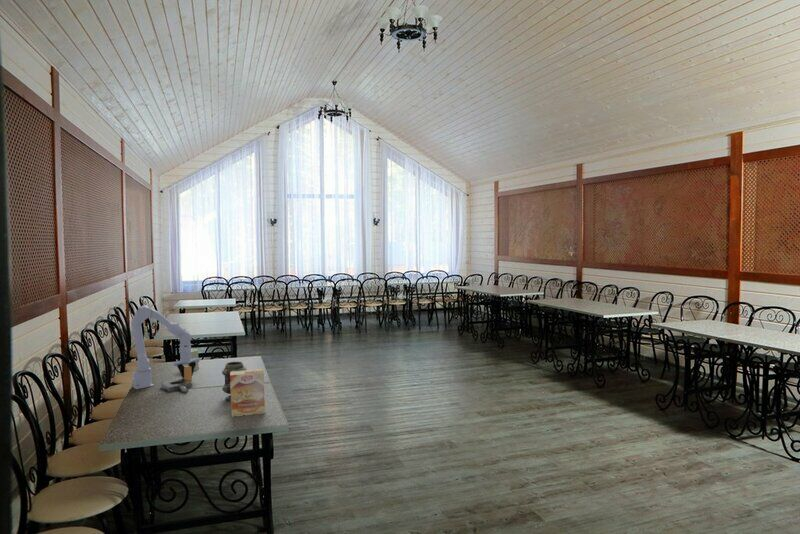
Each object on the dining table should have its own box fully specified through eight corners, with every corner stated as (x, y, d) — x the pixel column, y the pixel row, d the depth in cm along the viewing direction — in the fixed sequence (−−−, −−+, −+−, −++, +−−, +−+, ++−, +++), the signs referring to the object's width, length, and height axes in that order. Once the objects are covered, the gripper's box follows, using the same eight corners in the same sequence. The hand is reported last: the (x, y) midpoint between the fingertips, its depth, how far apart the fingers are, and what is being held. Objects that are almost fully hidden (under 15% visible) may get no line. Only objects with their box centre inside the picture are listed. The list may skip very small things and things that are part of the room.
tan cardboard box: (184, 382, 309) (184, 368, 308) (182, 380, 312) (181, 366, 311) (192, 380, 311) (191, 366, 311) (189, 379, 314) (188, 365, 314)
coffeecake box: (231, 417, 250) (229, 375, 249) (231, 412, 257) (229, 371, 256) (265, 413, 254) (263, 372, 253) (264, 408, 261) (263, 368, 260)
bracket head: (174, 395, 285) (173, 390, 284) (161, 387, 300) (161, 382, 299) (197, 390, 292) (197, 385, 292) (183, 382, 307) (183, 378, 307)
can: (195, 371, 332) (194, 351, 331) (180, 371, 332) (179, 351, 332) (201, 367, 341) (200, 347, 340) (186, 367, 342) (185, 348, 341)
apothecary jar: (252, 395, 282) (250, 360, 281) (239, 402, 270) (237, 366, 269) (231, 393, 285) (230, 359, 284) (217, 401, 274) (216, 365, 272)
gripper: (175, 356, 303) (176, 380, 304) (201, 351, 312) (202, 375, 313) (170, 353, 308) (171, 377, 309) (196, 349, 317) (197, 372, 318)
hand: (186, 376), depth 311 cm, fingers closed on tan cardboard box, 4 cm apart
